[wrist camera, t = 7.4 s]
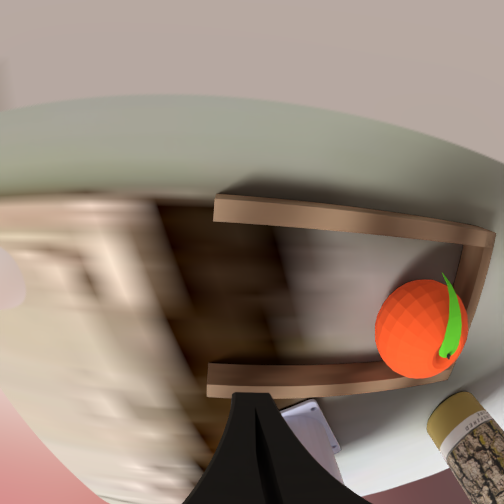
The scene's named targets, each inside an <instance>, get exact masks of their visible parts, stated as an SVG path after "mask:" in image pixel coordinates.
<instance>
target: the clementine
mask: <svg viewBox="0 0 504 504" xmlns="http://www.w3.org/2000/svg"><path fill="white" fill-rule="evenodd" d="M442 274H443V273H442ZM443 277H444V279H445V281H446V283H447V285H445V284H442V283H440V282H437V281H435V280H414V281H411V282H407V283H406V284H404V285H402V286H400V287H399V288H397V289H396V290H395V291H394V292H393V293H392V294H390V295H389V297H388V298H387V299H386V301H385V302H384V303H383V305H382V307H381V309H380V311H379V313H378V315H377V319H376V323H375V342H376V345H377V349H378V351H379V353H380V356H381V358H382V359H383V360H384V362H385V363H386V364H387V365H388V366H389V367H390V368H391V369H392V370H393V371H395V372H397V373H398V374H400V375H403V376H405V377H408V378H415V379H418V378H428V377H432V376H435V375H437V374H439V373H441V372H442V371H444V370H445V369H447V368H448V367H450V366H451V365H452V364H453V363H454V362H455V360H456V359H457V358H458V357H459V355H460V353H461V352H462V349H463V347H464V345H465V342H466V340H467V335H468V316H467V312H466V310H465V307H464V305H463V303H462V300H461V298H460V297H459V296H458V295H457V294H456V293H455V291H454V289H453V287H452V285H451V283H450V282H449V281H448V279H447V278H446V277H445V275H444V274H443Z"/></svg>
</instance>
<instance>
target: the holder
mask: <svg viewBox="0 0 504 504" xmlns="http://www.w3.org/2000/svg"><path fill="white" fill-rule="evenodd" d="M213 221H218V222H233V223H247V224H261V225H274V226H286V227H299V228H310V229H322V230H333V231H344V232H354V233H365V234H375V235H385V236H394V237H403V238H413V239H422V240H430V241H439V242H448V243H456V244H464V245H463V249H462V254H461V258H460V262H459V266H458V270H457V274H456V278H455V282H454V285H453V289H454V291H455V293H456V294H457V295H458V296H459V297H460V298H461V300H462V303H463V305H464V307H465V310H466V312H467V316H468V331H469V328H470V325H471V322H472V320H473V317H474V314H475V311H476V308H477V305H478V302H479V299H480V295H481V292H482V289H483V286H484V282H485V278H486V275H487V271H488V267H489V263H490V259H491V255H492V251H493V246H494V242H495V237H496V233H495V232H492V231H489V230H487V229H484V228H481V227H478V226H475V225H469V224H464V223H458V222H452V221H447V220H441V219H435V218H429V217H422V216H416V215H409V214H403V213H396V212H389V211H382V210H374V209H367V208H359V207H351V206H343V205H334V204H326V203H317V202H307V201H297V200H287V199H276V198H265V197H253V196H240V195H227V194H216V197H215V203H214V218H213ZM456 360H457V359H456ZM456 360H455V362H456ZM455 362H454V363H453V364H452V365H451V366H450V367H448V368H447V369H445V370H444V371H442V372H441V373H439V374H437V375H435V376H432V377H428V378H418V379H415V378H408V377H405V376H403V375H400V374H398V373H397V372H395V371H393V370H392V369H391V368H390V367H389V366H388V365H387V364H386V363H385V362H384V361H377V362H364V363H349V364H328V365H237V364H216V363H208V377H207V397H218V398H232V394H233V393H235V392H255V393H269V394H271V396H272V398H273V399H281V398H311V397H328V396H341V395H352V394H362V393H370V392H379V391H386V390H393V389H400V388H406V387H412V386H418V385H424V384H429V383H434V382H439V381H444V380H448V378H449V376H450V373H451V371H452V369H453V367H454V365H455Z"/></svg>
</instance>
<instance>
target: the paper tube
mask: <svg viewBox="0 0 504 504" xmlns="http://www.w3.org/2000/svg"><path fill="white" fill-rule="evenodd" d="M427 432H428V434H429V435H430V437H431V438H432V440H433V442H434V443H435V445H436V446H437V448H438V449H439V451H440V453H441V455H442V456H443V458H444V459H445V461H446V462H447V464H448V466H449V467H450V469H451V470H452V472H453V474H454V475H455V477H456V479H457V480H458V482H459V483H460V485H461V487H462V488H463V490H464V491H465V493H466V495H467V497H468V499H469V500H470V502H471V504H504V431H503V430H502V429H501V427H500V426H499V425H498V424H497V423H496V421H495V420H494V419H493V418H492V417H491V416H490V414H489V413H488V412H487V411H486V410H485V409H484V408H483V407H482V405H481V404H480V403H479V402H478V401H477V400H476V399H475V397H474V396H473V395H472V394H471V393H469V392H460V393H457V394H455V395H453V396H451V397H449V398H448V399H446V400H445V401H444V402H443V403H441V404H440V405H439V406H438V407H437V408H436V410H435V411H434V412H433V413H432V415H431V416H430V418H429V420H428V423H427Z"/></svg>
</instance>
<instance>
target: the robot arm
mask: <svg viewBox="0 0 504 504" xmlns="http://www.w3.org/2000/svg"><path fill="white" fill-rule="evenodd" d="M312 407H314V408H312ZM340 451H341V448H340V446H339V444H338V442H337V440H336V438H335V436H334V434H333V432H332V430H331V428H330V426H329V424H328V422H327V421H326V419H325V417H324V415H323V413H322V411H321V409H320V407H319V405H318V403H317V401H316V400H315V399H310V400H307V401H305V402H302V403H300V404H297V405H295V406H292V407H290V408H287V409H285V410H282V411H279V409H278V408H277V406H276V404H275V402H274V400H273V398H272V396H271V394H269V393H255V392H235V393H233V394H232V399H231V410H230V414H229V418H228V421H227V424H226V427H225V430H224V433H223V436H222V438H221V440H220V443H219V445H218V447H217V449H216V452H215V454H214V456H213V458H212V460H211V462H210V463H209V465H208V467H207V469H206V470H205V472H204V474H203V475H202V477H201V478H200V480H199V482H198V483H197V485H196V486H195V488H194V489H193V490H192V492H191V493H190V494H189V496H188V497H187V498H186V500H185V501H184V502H183V503H182V504H372V503H370V502H368V501H366V500H365V499H363V498H362V497H360V496H359V495H357V494H356V493H354V492H353V491H351V490H350V489H349V488H347V487H346V486H345V485H344V482H343V479H342V476H341V473H340V470H339V467H338V465H337V462H336V459H335V456H334V454H336V453H338V452H340Z"/></svg>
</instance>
